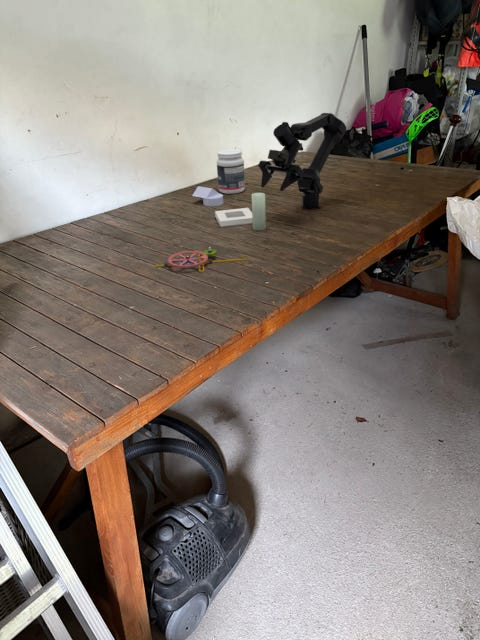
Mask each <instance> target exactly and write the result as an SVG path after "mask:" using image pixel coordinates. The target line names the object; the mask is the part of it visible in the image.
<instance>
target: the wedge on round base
mask: <svg viewBox="0 0 480 640" xmlns="http://www.w3.org/2000/svg"><path fill="white" fill-rule="evenodd" d="M192 197H197V198H202V202H203V206H205V207H218V206H222V205H223V204H224V195H223V193H220V192H218V191H217V190H215V189H214V188H212V187H207V186H201V185H200V186H197V187H196V189H195V190H194V192H193V194H192Z"/></svg>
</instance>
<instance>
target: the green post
mask: <svg viewBox="0 0 480 640" xmlns="http://www.w3.org/2000/svg"><path fill="white" fill-rule="evenodd" d="M251 212H252V220H253V224H252V230H254V231H264V230H266V229H267V222H266V221H267V219H266V193H264V192H253V193H252V194H251Z"/></svg>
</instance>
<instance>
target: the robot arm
mask: <svg viewBox="0 0 480 640" xmlns="http://www.w3.org/2000/svg"><path fill="white" fill-rule="evenodd" d="M320 129H322V130H323V140H322V142H321V144H320V145H319V147H318V150H317V152H316V153H315V155H314V157H313V160H312V161H311V164H310V165H309V167H307V168H304V167H303V169H302V167H301V166H300V165H299V164H296V163H297V161H296V157H297V155H298V153H299V151H301V152H302V151H304V146H303V143H301V142H300V141H307V140H309V139H310V138H311V137H312V136H313V133H314V132H317V131H318V130H320ZM346 133H347V125H346V123H344V122H343V121H342V120H341V119H340V118H338V117H336V116H335V115H334V113H331V112H322V113H320V115H318V116H316V117H313V118H311V119H309V120H307V121H305V122H298V123H297V122H296V123H293V124H291V125H290V124H289V122H287V121H282V123H281V124H279V125H278V126H276V127H275V128H274V130H273V136H274V138H275V139H276V140H277V141H278V143H279V144H280V146H282V147H283V148H282V149H281V150H277V149H269V151H268V155H267V159H268V160H260V161H259V163H258V165H257V166H258V168H259V169H260V171H261V173H262V174H261V182H260V183H261V184H260V187H261V188H262V189H264V188H265V186H266V185H267V184H268V182H269V181H270V180H271V178H272V177H273V174H274V173H275V172H277V173H285V178H284V179H283V181H282V184H281V186H280V189H279V190H280V192H283V191H284V190H286V189H287V188H289V187H290V186H291V185H292V184H294V183H296V182H297V188H298V191H299V192H300V193H302V195H301V198H300V200H301V201H300V203H301V204H300V205H301V207H303V208H304V209H305V210H312V209H319V208H321V205H319V204H320V195H321V194H322V193H323V189H324V187H323V185H322V183H321V172H322V170H323V168H324V166H325V164H326V162H327V160H328V158H329V156H330V154H331V152H332V150H333V148H334V146H335V144H337V143H339V142H340V141H341V140H342V139H343V138H344V136H345V135H346ZM269 160H272V163H273V164H274V165H272V164H271V162H270V161H269Z"/></svg>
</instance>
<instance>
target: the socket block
mask: <svg viewBox="0 0 480 640" xmlns="http://www.w3.org/2000/svg"><path fill="white" fill-rule="evenodd" d="M214 216H215V220H216V222H217V223H218V225H219V227H220V228H228V227H236V226H244V225H245V226H247V225H253V220H252V210H251V209H250V208H249V207H243V208H242V207H241V208H235V209H234V208H233V209H225V210H224V209H223V210H215V211H214Z"/></svg>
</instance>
